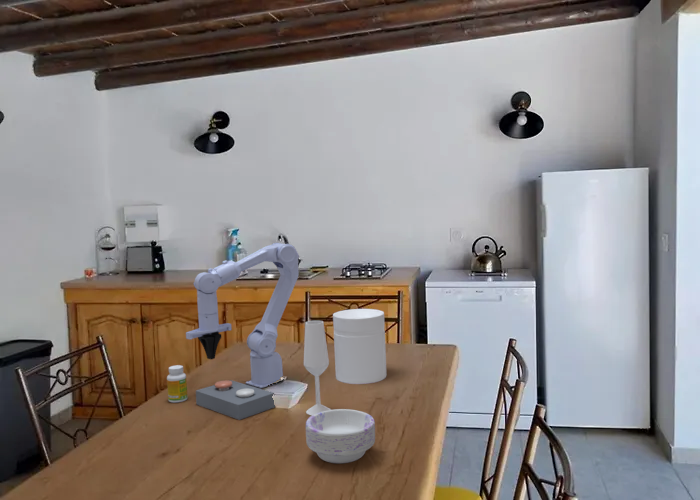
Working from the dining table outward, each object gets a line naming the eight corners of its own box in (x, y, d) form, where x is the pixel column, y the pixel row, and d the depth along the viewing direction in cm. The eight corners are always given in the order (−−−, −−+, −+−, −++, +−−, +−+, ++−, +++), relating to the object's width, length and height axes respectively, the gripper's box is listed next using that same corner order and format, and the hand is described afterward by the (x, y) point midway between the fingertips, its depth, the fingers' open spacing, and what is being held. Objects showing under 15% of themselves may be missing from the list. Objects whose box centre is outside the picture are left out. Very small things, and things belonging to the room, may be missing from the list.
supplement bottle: (182, 403, 175) (180, 369, 174) (165, 402, 176) (162, 369, 175) (190, 397, 180) (188, 364, 179) (174, 396, 181) (171, 364, 181)
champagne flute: (313, 405, 168) (309, 319, 166) (335, 408, 165) (331, 320, 163) (301, 413, 162) (296, 324, 160) (323, 416, 159) (319, 325, 157)
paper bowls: (385, 463, 131) (384, 426, 130) (316, 475, 126) (314, 437, 126) (363, 437, 145) (362, 404, 145) (300, 447, 141) (298, 413, 140)
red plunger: (226, 392, 178) (225, 379, 177) (236, 396, 174) (235, 382, 174) (212, 397, 174) (211, 383, 174) (222, 400, 171) (221, 386, 171)
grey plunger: (247, 401, 171) (246, 387, 170) (258, 404, 168) (257, 390, 167) (233, 406, 167) (232, 391, 167) (244, 409, 164) (243, 395, 164)
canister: (327, 381, 189) (324, 317, 188) (347, 367, 204) (344, 308, 202) (376, 385, 183) (373, 319, 182) (393, 370, 198) (390, 309, 196)
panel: (231, 393, 182) (230, 380, 182) (275, 407, 168) (274, 392, 168) (196, 404, 173) (195, 390, 173) (239, 420, 160) (238, 405, 159)
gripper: (220, 308, 189) (223, 351, 190) (179, 316, 179) (182, 361, 180) (234, 310, 184) (237, 354, 186) (192, 318, 174) (195, 365, 175)
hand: (211, 358), depth 182 cm, fingers closed
